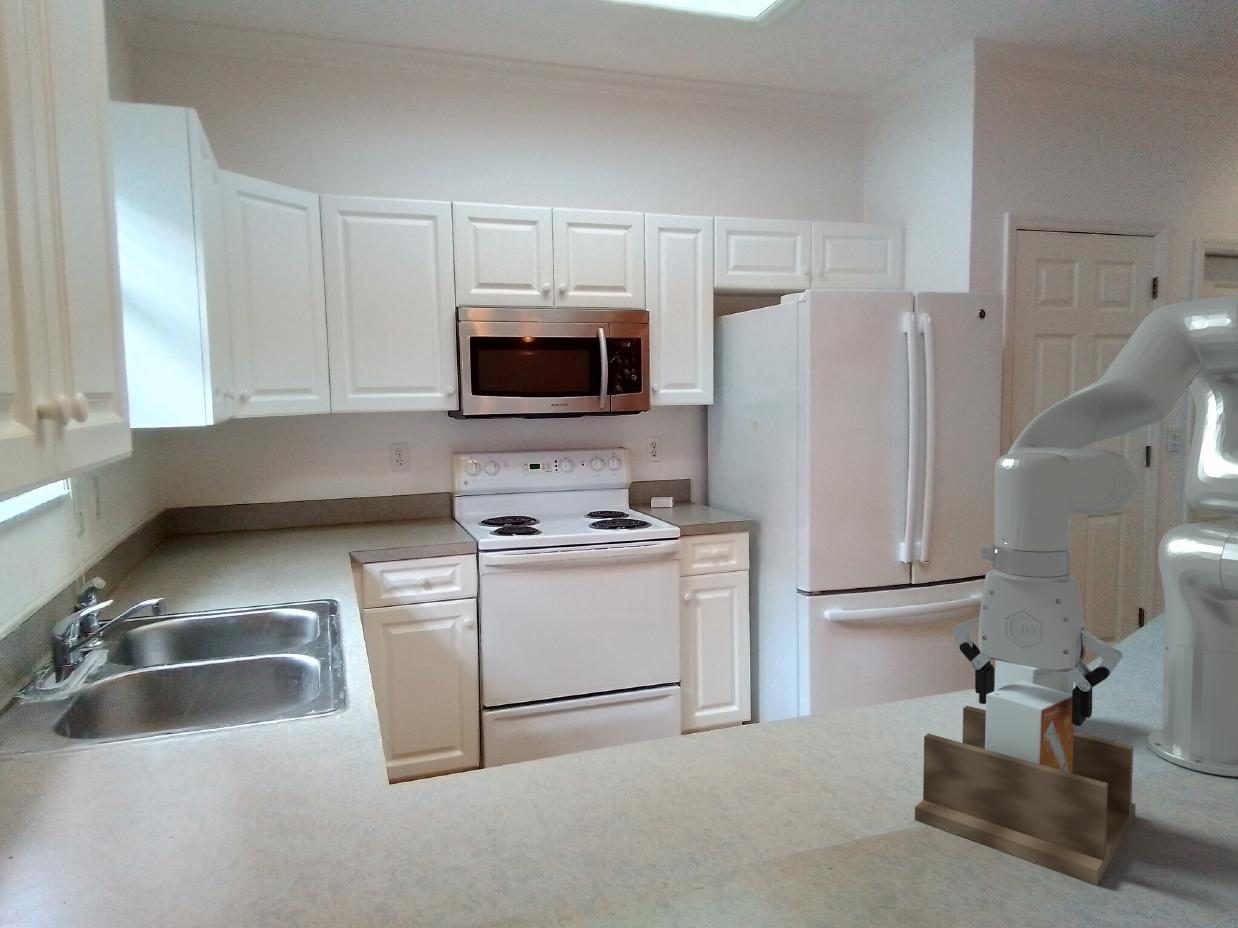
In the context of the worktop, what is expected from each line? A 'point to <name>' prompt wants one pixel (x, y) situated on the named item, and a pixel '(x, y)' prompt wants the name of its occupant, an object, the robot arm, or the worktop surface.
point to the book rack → (1031, 799)
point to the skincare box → (1031, 677)
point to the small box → (1031, 724)
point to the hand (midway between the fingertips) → (1031, 710)
